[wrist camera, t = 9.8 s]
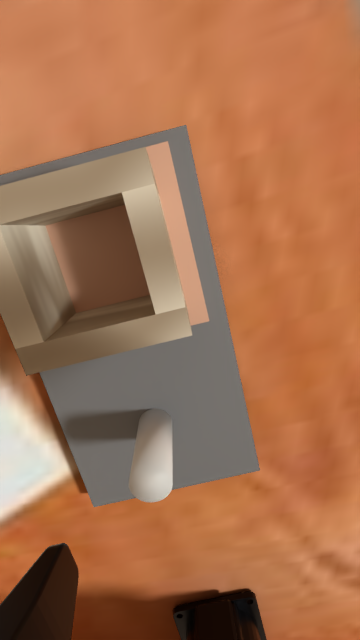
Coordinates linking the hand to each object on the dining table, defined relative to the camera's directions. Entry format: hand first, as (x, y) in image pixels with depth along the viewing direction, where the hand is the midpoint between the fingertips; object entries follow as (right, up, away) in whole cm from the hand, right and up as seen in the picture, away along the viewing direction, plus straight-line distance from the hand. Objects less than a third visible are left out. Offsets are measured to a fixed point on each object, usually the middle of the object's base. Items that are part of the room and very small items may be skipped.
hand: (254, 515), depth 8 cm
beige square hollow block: (-6, +8, +9) cm, 13 cm away
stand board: (-4, +3, +11) cm, 13 cm away
